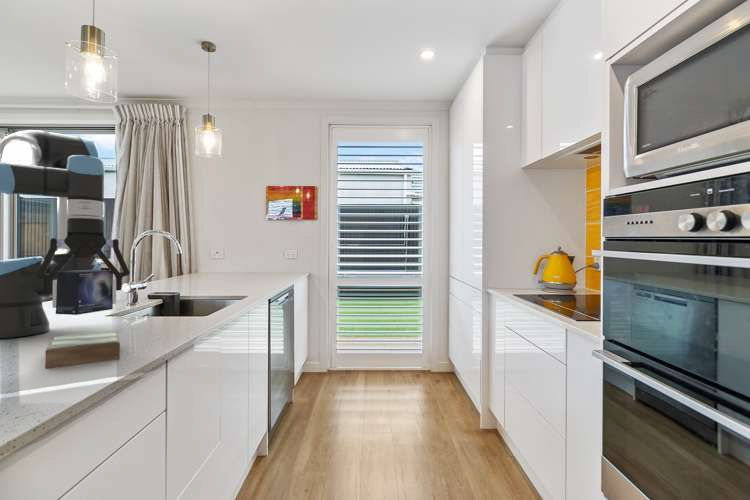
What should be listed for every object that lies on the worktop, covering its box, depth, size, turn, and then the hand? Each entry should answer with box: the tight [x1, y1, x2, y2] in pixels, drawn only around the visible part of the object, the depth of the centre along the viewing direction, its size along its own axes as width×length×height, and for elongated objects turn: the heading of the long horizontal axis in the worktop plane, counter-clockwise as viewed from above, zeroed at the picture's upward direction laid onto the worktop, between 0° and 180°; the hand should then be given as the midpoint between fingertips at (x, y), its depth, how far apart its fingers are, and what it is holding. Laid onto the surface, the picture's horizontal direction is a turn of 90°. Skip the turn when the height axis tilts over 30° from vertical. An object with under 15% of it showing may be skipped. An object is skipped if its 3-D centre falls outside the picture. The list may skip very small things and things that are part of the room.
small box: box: [55, 269, 114, 316], centre depth 99 cm, size 11×6×10 cm, turn 169°
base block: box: [44, 330, 121, 369], centre depth 99 cm, size 16×14×4 cm
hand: (85, 305), depth 99 cm, fingers closed on small box, 11 cm apart
